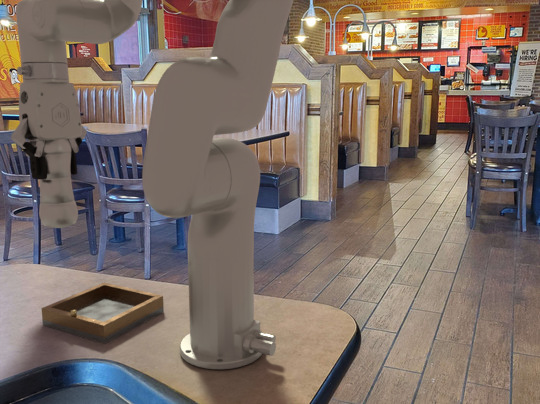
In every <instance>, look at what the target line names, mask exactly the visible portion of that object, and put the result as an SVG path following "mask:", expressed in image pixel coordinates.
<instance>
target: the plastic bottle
mask: <svg viewBox="0 0 540 404" xmlns="http://www.w3.org/2000/svg"><path fill="white" fill-rule="evenodd" d="M35 147H36V143H35ZM41 156H43V157H45V160H46V171H47V178H46V179H44V180H41V179H38V182H39V196H40V197H39V200H40V201H39V202H40V203H39V207H38V208H39V210H38V211H39V219H40V222H41V224H42V225H43V226H44V227H45V228H53V229H62V228H66V227H70V226H73V225H75V224H76V223H77V222H78V219H79V218H78V217H79V210H78V206H77V202H76V200H75V195H74V190H73V186H72V177H71V176H72V175H71V145H70V142H69V141H68V139H58V140H45V143H44V147H43V152H42V155H41Z"/></svg>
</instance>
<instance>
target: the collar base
mask: <svg viewBox="0 0 540 404" xmlns="http://www.w3.org/2000/svg"><path fill="white" fill-rule="evenodd" d="M162 313H164V296H163V295H161V294H156V293H152V292H147V291H143V290H139V289H135V288H131V287H130V288H129V287H127V286H126V287H125V286H122V285H117V284H112V283H109V282H102V283H99V284H97V285H94V286H93V287H90V288H88V289H85V290H83V291H80V292H78V293H76V294H72V295H70V296H68V297H66V298H63V299H61V300H59V301H56V302H54V303H51V304H48V305H46V306H44V307H41V317H42V318H41V319H42V325H43V326H44V327H48V328H50V329H54V330H57V331H62V332H64V333H67V334H71V335H74V336H78V337H82V338H84V339H87V340H91V341H94V342H98V343H101V344H104V345H106V344H107V343H108V342H110V341H112V340H115V339H117V338H118V337H120V336H122V335H124V334H126V333H128V332H129V331H132V330H133V329H134V328H137V327H139V326H140V325H142V324H144V323H146V322H148V321H150V320H152V319H153V318H155V317H157V316H158V315H161V314H162Z"/></svg>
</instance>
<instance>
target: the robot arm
mask: <svg viewBox="0 0 540 404" xmlns="http://www.w3.org/2000/svg"><path fill="white" fill-rule="evenodd" d="M293 3H294V0H228V2H227V3H226V5H225V7H224V8H223V10H222V12H221V14H220V17H218V18H219V19H218V21H217V25H216V30H215V36H214V41H213V45H212V50H211V52H210V55H209V57H203V56H202V57H201V56H200V57H199V56H191V57H185V58H182V59H179V60H177V61H175V62H173V63H172V64H170V65H169V66H168V67H167V69H166V70H164V72H163V74H162V75H161V77H160V79H159V81H158V83H157V85H156V88H155V91H154V95H153V101H152V104H151V106H152V107H151V111H150V112H151V113H150V118H149V125H148V129H147V135H146V143H145V150H144V156H143V161H142V178H141V180H142V188H143V189H142V190H143V193H144V195H145V198H146V201H147V203H148V204H149V206H150V207H151V208H152V210H153V211H154V212H156V213H158V214H159V215H161V216H163V217H166V218H169V219H170V218H173V219H177V218H178V219H181V218H185V217H190V216H191V218H190V221H189V225H188V232H187V271H188V272H187V275H188V277H187V278H188V279H187V280H188V304H189V305H188V307H189V310H188V311H189V312H188V313H189V333H188V334H187V335H185V336H184V337H183V338H182V340H181V341H180V342H179V343H180V344H179V353H180V356H181V358H182V359H183V360H184V361H186V362H187V363H189V364H190V365H193V366H195V367H197V368H201V369H205V370H206V369H209V370H229V369H230V370H231V369H236V368H240V367H244V366H247V365H249V364H252V363H254V362H255V361H256V360H258V359H259V358H260V357H261V356H262V355H266V356H270V357H273V356H274V354H275V353H276V350H277V349H276V348H277V344H276V341H277V338H276V335H275V334H270V333H264V332H263V331H262V330H261V321H260V320H258V319H257V320H256V319H255V304H254V303H255V295H254V293H255V291H254V290H255V289H254V285H255V283H254V282H255V281H254V279H255V278H254V276H255V275H254V274H255V273H254V271H255V270H254V266H255V265H254V263H255V262H254V258H255V254H254V252H255V244H254V243H255V239H254V238H255V219H256V218H255V216H256V208H257V202H258V201H257V200H258V196H259V191H260V184H261V168H260V164H259V160H258V158H257V156H256V154H255V153H254V151H253V150H252V149H251V148H250V147H249V146H248V145H247V144H246V143H244V142H242V141H240V140H238V139H233V138H225V137H223V138H222V137H219V138H218V137H217V138H214V136H220V135H231V134H238V133H243V132H247V131H250V130H252V129H254V128H256V127H257V126H258V125H260V123H261V122H262V121H263V118H264V116H265V113H266V111H267V107H268V103H269V100H270V94H271V89H272V85H273V81H274V76H275V73H276V68H277V65H278V61H279V56H280V51H281V46H282V40H283V36H284V34H285V33H284V32H285V30H286V26H287V22H288V19H289V16H290V14H291V13H290V12H291V10H292V7H293ZM142 7H143V0H19V2H17V4H16V6H15V15H16V17H15V18H16V25H17V36H18V46H19V54H20V55H19V56H20V64H21V66H18V67H17V69H16V74H18V75H20V76H22V82H20V86H19V93H18V95H19V96H18V119H19V120H18V121H19V124H18V125H17V127H16V128H15V129H14V131H13V132H12V134H11V135H10V140H12V141H13V142H14V143H15V144H16V145H17V146H19V148H20V150H22V151H23V152H24V153H25V155H26V157H28V158H29V165H30V173H31V178H32V179H33V180H39V179H41V180H44V179H46V178H47V171H46V160H45V157H43V156H41V155H42V152H43V147H44V143H45V140H58V139H68V141H69V142H70V145H71V176H73V175H77V174H78V166H77V165H78V164H77V154H76V153H78V152H79V150H80V149H79V147H80V146H81V144H82V143H83V140H84V139H85V137H86V136H87V134H88V132H87V129H86V128H85V127H84V126H83V125H82V124H83V123H82V118H81V117H82V116H81V112H80V106H79V100H78V95H77V92H76V89H75V86H74V83H73V82H70V79H69V78H70V77H69V65H68V54H67V53H68V52H67V43H68V42H70V43H82V44H90V45H91V44H94V45H101V44H108V43H110V42H112V41H114V40H116V39H118V38H119V37H120V36H121V35H123V34H124V33H125V32H128V30H130V29H131V27H133V26H134V25H135V24H136V22H137V20H138V19H139V16H140V13H141V10H142ZM66 42H67V43H66ZM35 143H36V147H35Z"/></svg>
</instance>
